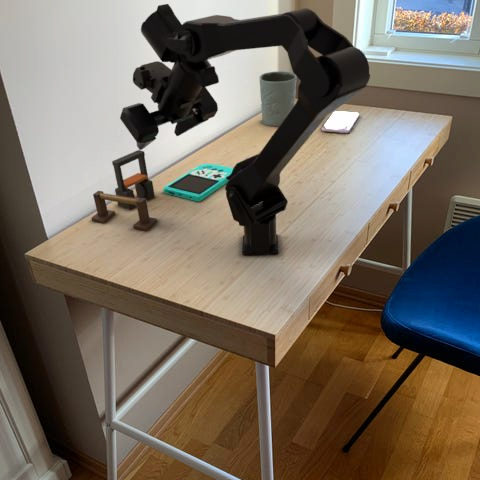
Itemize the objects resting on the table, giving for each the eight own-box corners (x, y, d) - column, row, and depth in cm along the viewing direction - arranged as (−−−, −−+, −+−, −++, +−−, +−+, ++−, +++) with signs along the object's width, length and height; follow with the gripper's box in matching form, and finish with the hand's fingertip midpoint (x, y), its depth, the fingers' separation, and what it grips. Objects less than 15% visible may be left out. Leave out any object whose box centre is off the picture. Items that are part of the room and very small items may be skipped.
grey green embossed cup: (277, 113, 154) (277, 69, 147) (303, 120, 148) (304, 74, 141) (252, 122, 149) (251, 77, 142) (278, 130, 143) (278, 83, 136)
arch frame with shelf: (130, 210, 110) (121, 164, 104) (118, 205, 112) (108, 160, 106) (155, 197, 114) (147, 152, 108) (142, 193, 116) (135, 148, 110)
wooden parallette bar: (157, 221, 105) (153, 196, 102) (146, 231, 102) (142, 205, 99) (103, 212, 110) (97, 187, 106) (92, 221, 107) (85, 196, 103)
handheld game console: (240, 174, 121) (240, 168, 121) (200, 202, 111) (199, 196, 110) (204, 166, 126) (204, 161, 125) (162, 193, 116) (161, 187, 115)
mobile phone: (360, 112, 148) (349, 130, 137) (359, 115, 149) (348, 133, 138) (333, 110, 151) (320, 127, 140) (333, 113, 151) (320, 131, 140)
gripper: (198, 35, 95) (171, 96, 108) (112, 57, 85) (93, 120, 98) (233, 85, 95) (202, 139, 108) (151, 112, 85) (128, 168, 98)
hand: (158, 140), depth 103 cm, fingers open, 9 cm apart
